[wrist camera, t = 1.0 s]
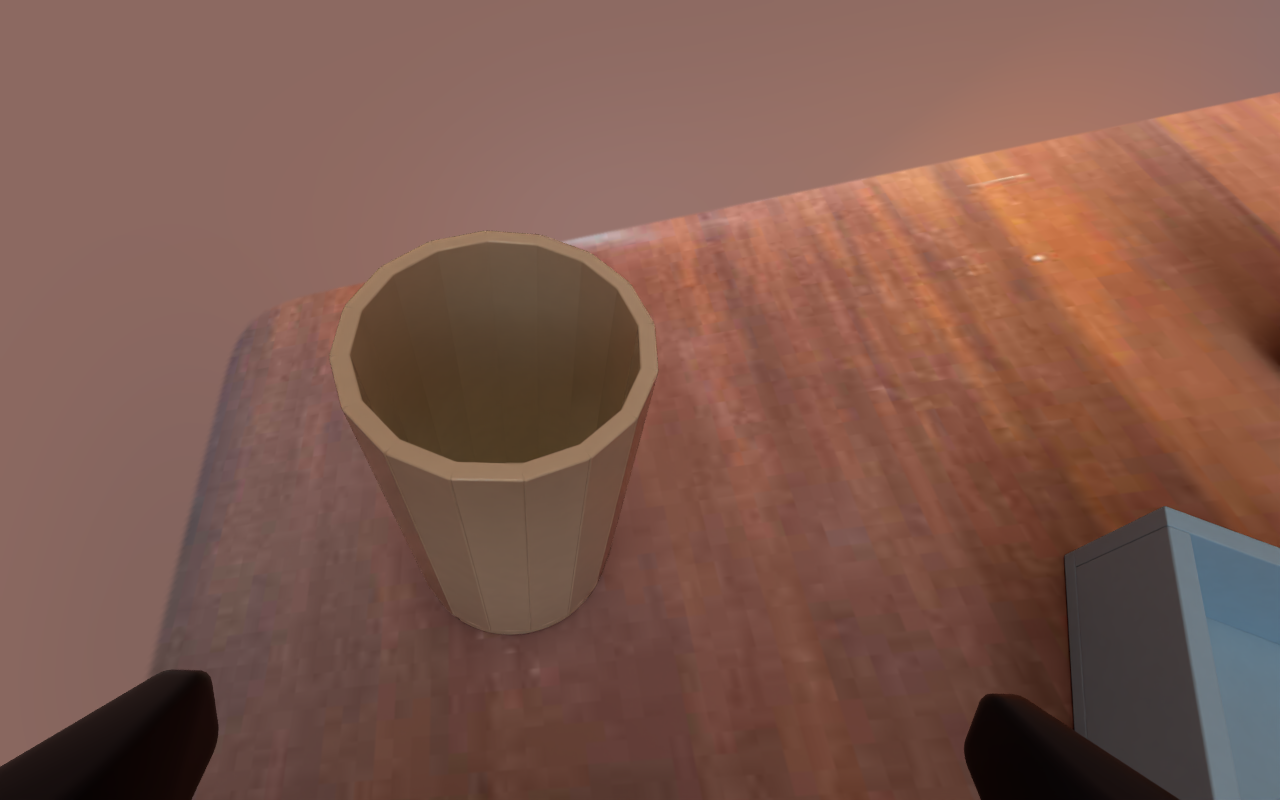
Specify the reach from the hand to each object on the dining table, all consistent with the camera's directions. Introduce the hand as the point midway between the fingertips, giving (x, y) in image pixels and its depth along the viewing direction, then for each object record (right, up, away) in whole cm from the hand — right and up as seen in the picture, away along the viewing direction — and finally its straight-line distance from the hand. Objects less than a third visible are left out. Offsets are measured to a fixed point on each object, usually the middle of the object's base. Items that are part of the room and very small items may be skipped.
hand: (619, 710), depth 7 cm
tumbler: (-4, -2, +16) cm, 17 cm away
